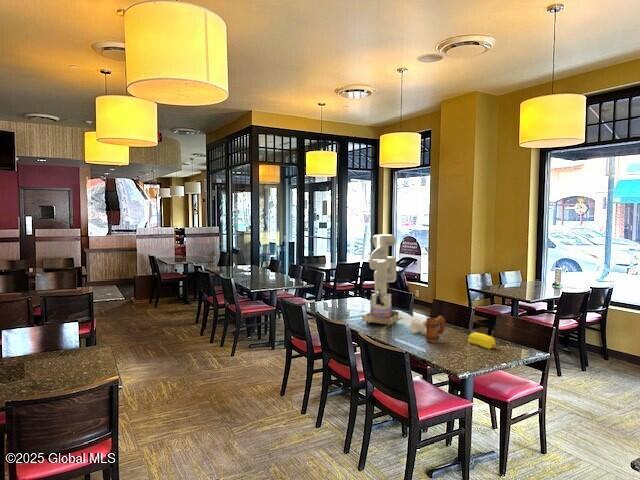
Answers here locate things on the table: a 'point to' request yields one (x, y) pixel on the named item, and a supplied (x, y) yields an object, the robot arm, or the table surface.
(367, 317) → the tray
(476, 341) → the yellow rounded bar
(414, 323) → the cream twisted loop
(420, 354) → the table surface
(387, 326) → the track
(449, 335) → the table surface
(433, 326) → the mug
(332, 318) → the table surface
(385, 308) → the candy box
